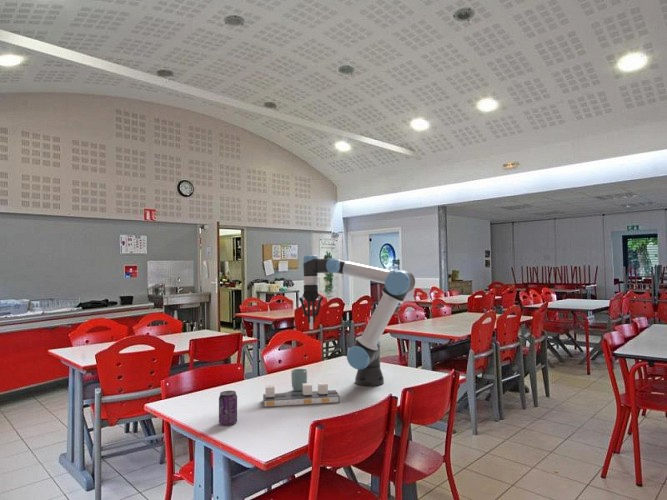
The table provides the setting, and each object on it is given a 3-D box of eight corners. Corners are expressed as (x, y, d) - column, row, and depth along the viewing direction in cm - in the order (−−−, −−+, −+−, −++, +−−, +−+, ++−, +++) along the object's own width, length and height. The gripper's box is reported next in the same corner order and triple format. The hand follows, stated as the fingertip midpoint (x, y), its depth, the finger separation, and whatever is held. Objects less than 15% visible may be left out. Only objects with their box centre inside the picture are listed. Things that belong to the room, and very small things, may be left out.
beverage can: (220, 420, 180) (220, 390, 181) (238, 419, 181) (238, 389, 181) (217, 426, 173) (217, 395, 174) (236, 426, 174) (235, 394, 174)
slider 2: (311, 392, 208) (311, 382, 208) (312, 394, 204) (312, 385, 204) (302, 392, 207) (302, 383, 207) (303, 395, 203) (303, 385, 203)
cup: (304, 393, 219) (304, 372, 220) (289, 392, 221) (289, 371, 221) (308, 388, 227) (308, 368, 227) (294, 388, 228) (293, 368, 229)
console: (335, 396, 213) (335, 389, 213) (339, 402, 202) (339, 395, 202) (263, 400, 207) (263, 393, 207) (263, 407, 197) (263, 400, 197)
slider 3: (326, 391, 209) (326, 382, 209) (327, 393, 205) (327, 384, 205) (317, 392, 208) (317, 382, 208) (319, 394, 204) (319, 384, 205)
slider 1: (274, 394, 205) (274, 384, 205) (274, 396, 201) (274, 387, 201) (265, 394, 204) (265, 385, 204) (265, 397, 200) (265, 387, 201)
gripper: (321, 283, 243) (322, 327, 242) (297, 284, 240) (298, 328, 239) (324, 284, 236) (324, 329, 235) (299, 284, 233) (300, 330, 232)
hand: (311, 328), depth 237 cm, fingers closed
